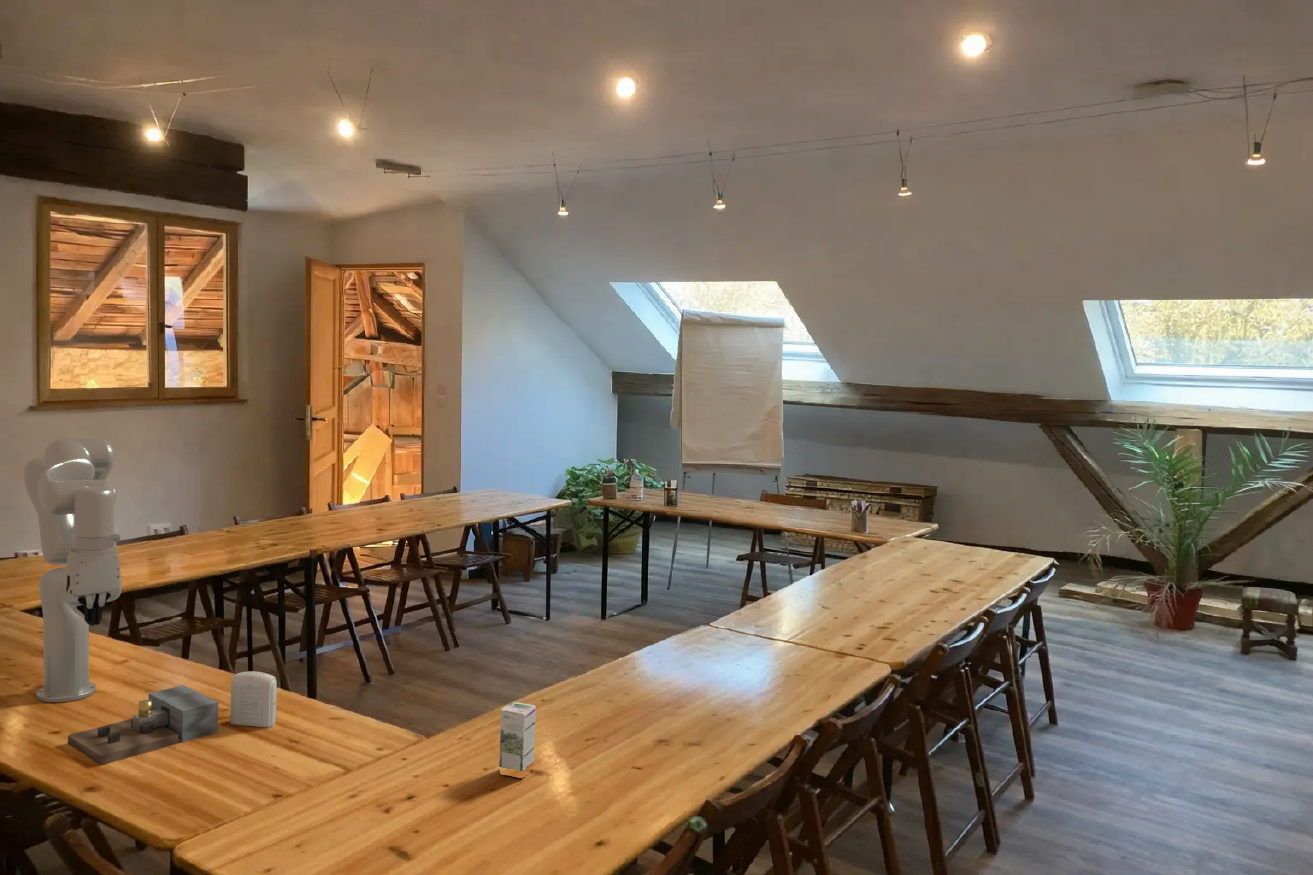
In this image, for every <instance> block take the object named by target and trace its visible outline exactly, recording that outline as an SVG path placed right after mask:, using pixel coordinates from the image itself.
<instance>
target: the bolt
mask: <svg viewBox="0 0 1313 875" xmlns="http://www.w3.org/2000/svg"><path fill="white" fill-rule="evenodd" d="M132 719H133V729H134V730H136V731H137V732H142V725H144V724H148V723H152V724H153V729H154V728H158V727H161V726H165V725H169V724H170V709H168V708H166V707H165V708H161V709H157V710H153V711H152V700H149V699H144V700H143V699H142V700H139V701H138V714H133V715H132Z"/></svg>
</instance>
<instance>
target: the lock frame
mask: <svg viewBox="0 0 1313 875" xmlns="http://www.w3.org/2000/svg"><path fill="white" fill-rule="evenodd" d="M148 700H152V711H153V710H157V709H161V708H165V707H166V708H168V709H170V724H169V725H165V726H161V727H158V728H154V729H153V724H152V723H148V724H144V725H142V732H137V731H136V730H134V729H133V718H130V719H129V718H128V719H125V720H121V721H118V722H114V723H110V724H106V725H102V726H97V727H94V728H91V729H86V730H81V731H78V732H74V733H70V734H67V744H68V745H69V746H70V747H72V748H73V749H75V750H76V751H78V752H80V753H81V754H82V755H84V756H85V757H87V758H89V759H90V760H92V761H93V762H95V763H96V764H97V765H99V766H103V765H106V764H111V763H113V762H114V763H115V762H118V761H121V760H124V759H128V757H129V758H132V757H135V755H136V756H139V755H143V754H145V753H149V752H153V751H156V749H157V750H159V749H163V748H167V747H170V746H174V745H177V744H179V741H180V742H182V743H184V742H187V741H191V740H195V739H199V738H202V737H205V736H209V735H212V734H216V733H218V732H219V701H217V700H215V699H213V698H211V697H209V696H206V695H204V694H202V693H201V692H198V691H197V690H194V689H192V688H191V687H188V686H186V685H183V684H182V685H178V686H174V687H169V688H165V689H160V690H156V691H152V692H148ZM198 737H199V738H198ZM138 754H139V755H138ZM131 756H132V757H131ZM117 760H118V761H117Z"/></svg>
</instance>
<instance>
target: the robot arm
mask: <svg viewBox="0 0 1313 875" xmlns="http://www.w3.org/2000/svg"><path fill="white" fill-rule="evenodd" d="M43 454H44V455H43V456H41V457H40V456H39V457H36V458H33V459H31V460H29V461H27V462H26V464H25V466H24V468H23V480H24V481H23V482H24V487H25V490H26V493H27V495H28V498H29V499H30V502H31V503H32V505H33V507H34V509H35V512H36V514H37V519H38V528H39V538H40V545H41V546H40V547H41V552H42V553H41V554H42V556H43V559H44V560H45V562H46V563H47V564H50V565H55V566H62V565H63V567H58V568H53V569H50V570H48V571H46V572H44V573H42V575H41V577H40V578H39V581H38V592H39V598H40V602H41V609H42V622H43V623H42V624H43V687H41V688H39V689H38V690H37V691H36V694H35V696H36V697H35V698H36V699H37V700H38V701H41V702H46V703H65V702H66V703H67V702H72V701H78V700H82V699H84V698H85V699H86V698H87V697H90V696H91V695H93V694H95V692H96V691H97V685H96V684H95V683H93V682H90V679H89V678H90V642H89V641H90V634H89V633H90V631H89V630H90V627H89V626H91V627H92V626H95V625H97V626H99V625H100V624H101V620H102V618H103V607H105V603H108V602H113V601H115V600H117V599H118V598H119V597H120V595H121V593H122V586H123V584H122V575H121V574H122V573H121V567H120V566H121V565H120V558H119V553H118V552H119V551H118V547H117V541H120V540H121V536H120V534H119V533H118V534H115V532H114V530H115V529H114V527H115V525H114V523H115V522H114V521H115V504H116V499H117V491H116V487H115V486H113V484H112V483H111V482H110V481H109V480H107V479H108V477H109V475H110V473H111V471H112V469H113V467H114V463H115V450H114V448H113V446H112V444H111V443H110V442H109V441H108V440H107V439H105V438H104V437H103V438H102V437H68V438H66V437H63V438H59V439H57V440H53V441H51V442H50V443H49V444H48V445H47V446H46V448H45V450H44V453H43ZM64 566H65V567H64ZM78 606H84V608H83V609H84V611H83V612H84V614H83V612H82V611H80V609H78V608H77V607H78Z"/></svg>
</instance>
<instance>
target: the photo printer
mask: <svg viewBox="0 0 1313 875" xmlns="http://www.w3.org/2000/svg"><path fill="white" fill-rule="evenodd" d="M277 683H278V682H277V678H276V676H274V675H272V674H269V673H265V672H262V671H252V670H251V671H241V672H237V673H236V674H234V675H233V677H232V679H231V683H230V716H229V717H230V718H229V720H230V724H232V725H238V726H248V727H249V726H250V727H260V728H261V727H262V728H271V727H273V726H275V724H276V718H277V717H276V716H277V686H278V684H277Z"/></svg>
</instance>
